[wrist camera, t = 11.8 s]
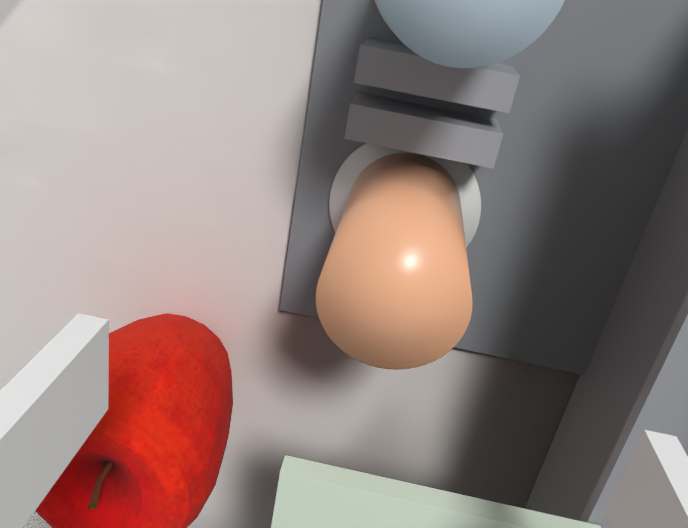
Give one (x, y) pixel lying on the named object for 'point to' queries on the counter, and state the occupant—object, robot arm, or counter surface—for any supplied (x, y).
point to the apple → (151, 432)
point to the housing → (530, 195)
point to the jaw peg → (398, 266)
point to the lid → (388, 503)
